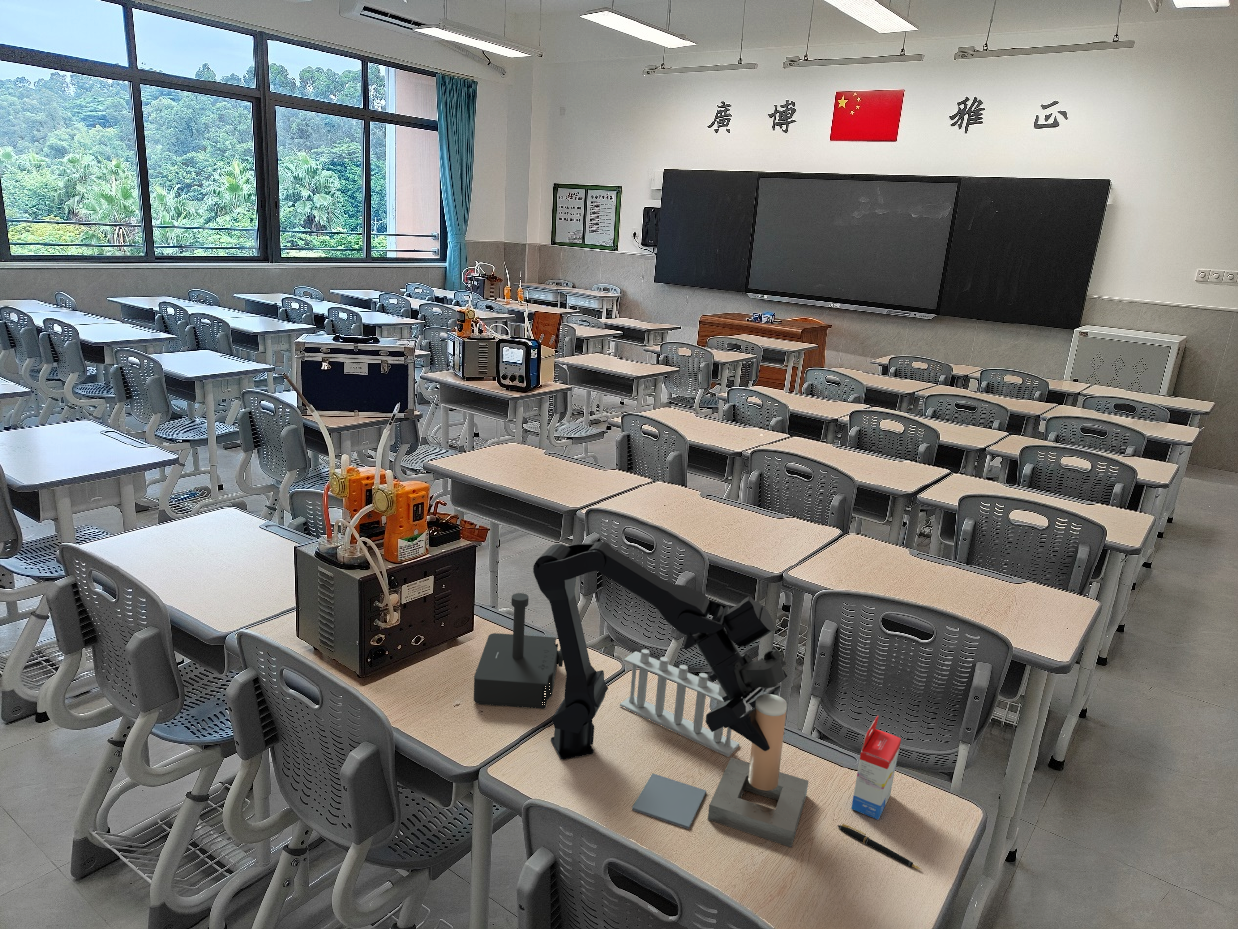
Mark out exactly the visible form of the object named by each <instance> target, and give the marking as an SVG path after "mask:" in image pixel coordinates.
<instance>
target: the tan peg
mask: <svg viewBox="0 0 1238 929" xmlns="http://www.w3.org/2000/svg"><path fill="white" fill-rule="evenodd" d="M787 706H788V703H787V701H786V699H784V698H783V697H781V696H779V695H778V696H777V695H772V694H763V695H760V696H758V697H757V699H756V706H755V707H756V717H755V718H756V721H757V723H758V725H759V727H760V728H761V730H762V732H763V734H764V736H765V738H766V740H767V742H768V745H769V747H770V749H769V750H767V751H763V750H762V749H761V748H759V747H758V746H756V745H755V744H753V743H752V742H751V745H750V746H751V748H750V756H749V757H750V758H749V763H750V766H749V776H748V781H749V783H750V784H751V785H752V786H753V787H755V788H757V789H759V790H765V791H768V790H773V789H775V788H776V787H777V786H778V780H779V772H781V771H780V769H781V760H782V752H783V743H784V735H785V734H784V733H785V726H786V716H787V708H788V707H787Z"/></svg>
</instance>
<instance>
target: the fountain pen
mask: <svg viewBox="0 0 1238 929" xmlns="http://www.w3.org/2000/svg"><path fill="white" fill-rule="evenodd" d="M837 827H838V829H839V830H840V831H842V832H843V833H845V834H846V835H848V836H850V837H851V838H853V839H855V840H856V841H858V842H861V843H862V844H864V845H866V846H868V847H870V848H872V849H875V850H877V851H879V852H880V853H882V854H884V855H886V856H888V857H890V858H892V859H893V860H896V861H897V862H899V863H902V864H904V865H906V866H907V867H910V868H912V867H913V868H915V869H916V870H917V869H918V870H921V871H922V870H923V869H922V868H921V867H920V866H918V865H916V864H914V861H911V860H909V859H908V858H906V857H904V856H902V855H900V854H899V853H897V852H895V851H893V850H892V849H890V848H889V847H887V846H885V845H882V844H880V843H879V842H877V841H875V840H873V839H871V838H870V837H869V836H867V833H865V832H863V831H861V830H859V829H856V828H854V827H853V826H850V825H847V824H844V823H842V824H840V825H838V824H837Z"/></svg>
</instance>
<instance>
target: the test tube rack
mask: <svg viewBox="0 0 1238 929" xmlns="http://www.w3.org/2000/svg"><path fill="white" fill-rule="evenodd" d="M650 655H651V653H650V650H649V649H645V648H643V649H641V651H640V652H639V651H634V652H632V653H631V654H629V655H627V657H625V658H624V659H623V661H624V662H626V663H628V664H631V665H632V668H631V669H632V670H631V671H632V672H631V681H630V682H631V683H630V684H631V685H630V694H629V695H630V696H628V697H627V698H626V699H624V700H623V701H621V702H620V703H619V707H620V706H622V707H625V708H626V709H628V710H630V711H632V712H634V713H636V714H638V715H637V716H639V715H640V716H639V717H641V716H642V717H641V718H643V717H644V718H643V719H645V718H646V720H647V719H650V720H651V721H650V722H652V721H653V722H652V723H654V722H655V723H654V724H656V723H657V724H656V725H658V724H659V725H658V726H660V725H662V726H664V727H663V728H665V727H666V728H665V729H667V730H669V729H670V731H671V730H672V731H671V732H673V731H674V732H673V733H675V732H676V734H677V733H679V734H678V735H680V734H681V735H680V736H682V735H683V736H682V737H684V736H685V738H686V737H687V739H688V740H691V741H693V742H695V743H698V744H699V745H702V746H704V747H706V748H708V749H710V750H712V751H714V752H716V753H718V754H721V755H724V756H725V757H728V758H729V757H730V756H731V755H732V754H733V753H734V752H735V751H736V750H737V749H738V748H739V747H740V743H739V742H738V741H736V740H734V739H731V737H732V731H733V730H732V729H730V728H728V727H727V728H726V729H727V730H726V736H725V735H724V733H723V732H724V727H722V728H720V729H718V730H716V731H713V732H711V730H710V729H709V728H707V727H705V726H703V724H704V723H703V722H704V715H705V706H706V699H707V698H706V697H709V698H710V699H713V700H716V706H718V705H720V704H722V703H724V700H723V699H722V697H724V696H725V695H726V694H725V692H724V690H723V689H722V687H721V685H720V684H719V683H718V684H717V683H714V682H713V681H709V675H708V673H705V672H700V673H698V674H699V675H698V676H697V675H694V674H692V673H690V672H689V669H688V668H689V667H688V666H687V665H685V664H680V665H679V667H675V666H673V665H671V664H669V662H670V661H669V658H667V657H666V656H661V657H660V658H659V660H658V659H657V658H654V657H651V656H650ZM637 668H639V669H638V670H639V671H638V683H637V684H638V685H637V695H635V690H636V681H637V680H636V678H637ZM649 673H652V674H655V675H657V684H656V697H655V704H653V703H651V702H650V701H646V699H647V698H646V697H647V688H648V686H647V685H648V675H649ZM667 680H668V681H670V682H673V683H676V684H677V685H676V693H675V694H676V695H675V702H674V706H675V707H674V713H673V712H671V711H669V710H666V709H665V701H666V700H665V699H666V691H667V690H666V689H667V682H668V681H667ZM687 689H689V690H692V691H694V692H696V697H695V698H696V699H695V709H694V715H693V717H694V718H693V721H691V720H689V719H686V718H684V712H685V711H684V709H685V699H686V690H687ZM626 709H625V710H626ZM628 710H627V711H628ZM630 711H629V712H630ZM632 712H631V713H632ZM634 713H633V714H634ZM636 714H635V715H636ZM662 726H661V727H662Z"/></svg>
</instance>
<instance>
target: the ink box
mask: <svg viewBox="0 0 1238 929" xmlns="http://www.w3.org/2000/svg"><path fill="white" fill-rule="evenodd" d="M879 718H880V717H879V715H878V714H877V716H876V717H875V719H874V721H873V722H872V723H871V725H870V727H869V729H868V730H867V732H866V733H865V735H864V739H863V742H862V746H861V751H860V756H859V761H858V762H859V763H858V767H857V774H856V780H855V786H854V789H853V797H852V803H851V808H850V809H851V810H853V811H855V812H858V813H861V814H863V815H865V816H868V817H870V818H873V819H875V820H877V821H879V820H880V817H881V815H882V813H883V811H884V809H885V807H886V805H887V802H888V801H889V798H890V797H891V794H892V787H893V783H894V778H895V771H896V767H897V762H898V758H899V757H898V756H899V752H900V746H901V743H902V742H901V741H902V738H901V737H899V736H896V735H894V734H891V733H888V732H886V731H883V730H880V729H877V726H878V721H879Z"/></svg>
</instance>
